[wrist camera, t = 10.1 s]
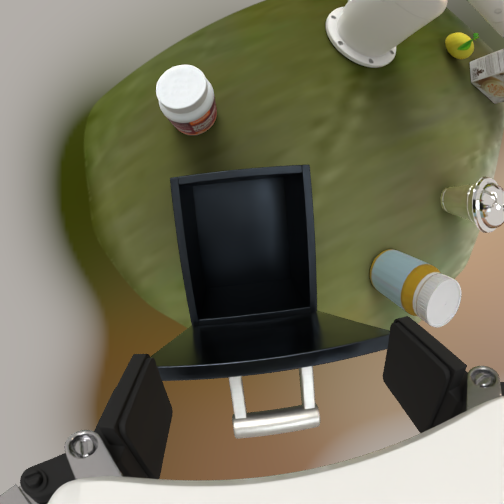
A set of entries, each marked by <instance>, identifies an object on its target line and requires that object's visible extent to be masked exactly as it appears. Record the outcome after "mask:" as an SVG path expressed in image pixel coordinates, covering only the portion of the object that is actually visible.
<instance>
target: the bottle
mask: <svg viewBox="0 0 504 504" xmlns="http://www.w3.org/2000/svg"><path fill="white" fill-rule="evenodd" d="M370 280H371V283H372V285H373V286H374V288H375V289H377V290H378V291H379V292H381V293H382V294H383V295H385V296H386V297H387V298H389V299H390V300H391V301H393V302H394V303H395V304H397V305H398V306H399V307H401V308H402V309H403V310H405V311H406V312H408V313H409V314H411V315H413V316H418V317H420V318H421V319H422V320H424V321H425V322H426V323H428V324H429V325H430V326H433V327H441V326H443V325H445V324H446V323H448V322H449V321H450V320H451V319H452V318H453V316H454V315H455V313H456V312H457V310H458V307H459V305H460V301H461V287H460V285H459V283H458V282H457V281H456V280H455V279H453V278H451V277H448V276H446V275H444V274H441V273H440V271H439V270H438V269H437V268H436V267H434V266H432V265H430V264H428V263H426V262H424V261H421V260H419V259H417V258H414V257H412V256H409V255H407V254H405V253H402V252H400V251H397V250H393V249H388V250H385V251H383V252H381V253H380V254H379V255H378V256H377V257H376V258H375V259H374V261H373V263H372V265H371V269H370Z"/></svg>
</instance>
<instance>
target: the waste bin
mask: <svg viewBox="0 0 504 504" xmlns="http://www.w3.org/2000/svg"><path fill="white" fill-rule="evenodd" d="M170 183H171V193H172V202H173V210H174V218H175V226H176V233H177V241H178V248H179V254H180V261H181V267H182V273H183V279H184V285H185V291H186V297H187V302H188V307H189V313H190V318H191V323H192V325H204V324H215V323H225V322H235V321H244V320H253V319H262V318H270V317H277V316H285V315H292V314H299V313H306V312H312V311H317V283H316V253H315V232H314V215H313V201H312V188H311V176H310V165H292V166H276V167H262V168H250V169H239V170H229V171H220V172H211V173H203V174H195V175H188V176H181V177H174V178H170Z"/></svg>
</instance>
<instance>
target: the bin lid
mask: <svg viewBox="0 0 504 504" xmlns="http://www.w3.org/2000/svg"><path fill="white" fill-rule="evenodd" d="M389 334H390V331H389V330H385V329H381V328H377V327H374V326H370V325H366V324H363V323H359V322H355V321H352V320H348V319H345V318H341V317H338V316H334V315H331V314H327V313H324V312H320V311H312V312H306V313H299V314H292V315H285V316H277V317H270V318H262V319H253V320H244V321H235V322H225V323H215V324H204V325H192V326H190V327H189V328H188V329H186V330H185V331H184V332H183V333H181V334H180V335H179V336H177V337H176V338H175V339H174V340H172V341H171V342H169V343H168V344H167V345H165V346H164V347H163V348H161V349H160V350H159V351H157V352H156V353H155V354H153V355H152V356H151V357H153V358H154V359H155V362H156V365H157V368H158V371H159V374H160V377H161V379H162V381H171V380H198V379H199V380H200V379H214V378H228V377H229V383H230V390H231V397H232V403H233V410H234V414H233V417H232V418H233V419H232V420H233V430H234V435H235V438H237V439H238V438H248V437H258V436H266V435H274V434H280V433H286V432H293V431H298V430H304V429H309V428H314V427H318V426H319V425H320V413H319V409H318V406H317V404H316V403H315V392H314V377H313V366H315V365H320V364H325V363H330V362H335V361H339V360H344V359H349V358H353V357H357V356H361V355H365V354H369V353H373V352H377V351H380V350H385V349H387V348H388V341H389ZM298 368H299V375H300V387H301V400H302V405H299V406H293V407H288V408H281V409H275V410H267V411H260V412H251V413H247V411H246V405H245V398H244V390H243V383H242V376H248V375H257V374H264V373H272V372H279V371H286V370H292V369H298Z"/></svg>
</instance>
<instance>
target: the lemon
mask: <svg viewBox="0 0 504 504" xmlns="http://www.w3.org/2000/svg"><path fill="white" fill-rule="evenodd" d="M478 35H479V34H478V33H474V34H473V37H474V39H475V41H476V39H477V38H479V37H477V36H478ZM474 39H470V38H469V37H468V36H467V35H465V34H463V33H453V34H450V35H449V36H448V37H447V38H446V40H445V45H446V48H447V51H448V52H449V53H450V54H451V55H452V56H453V57H455V58H457V59H465V58H467V57H469V56H470V55H471V54H472V53H473V50H474V44H473V40H474Z"/></svg>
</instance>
